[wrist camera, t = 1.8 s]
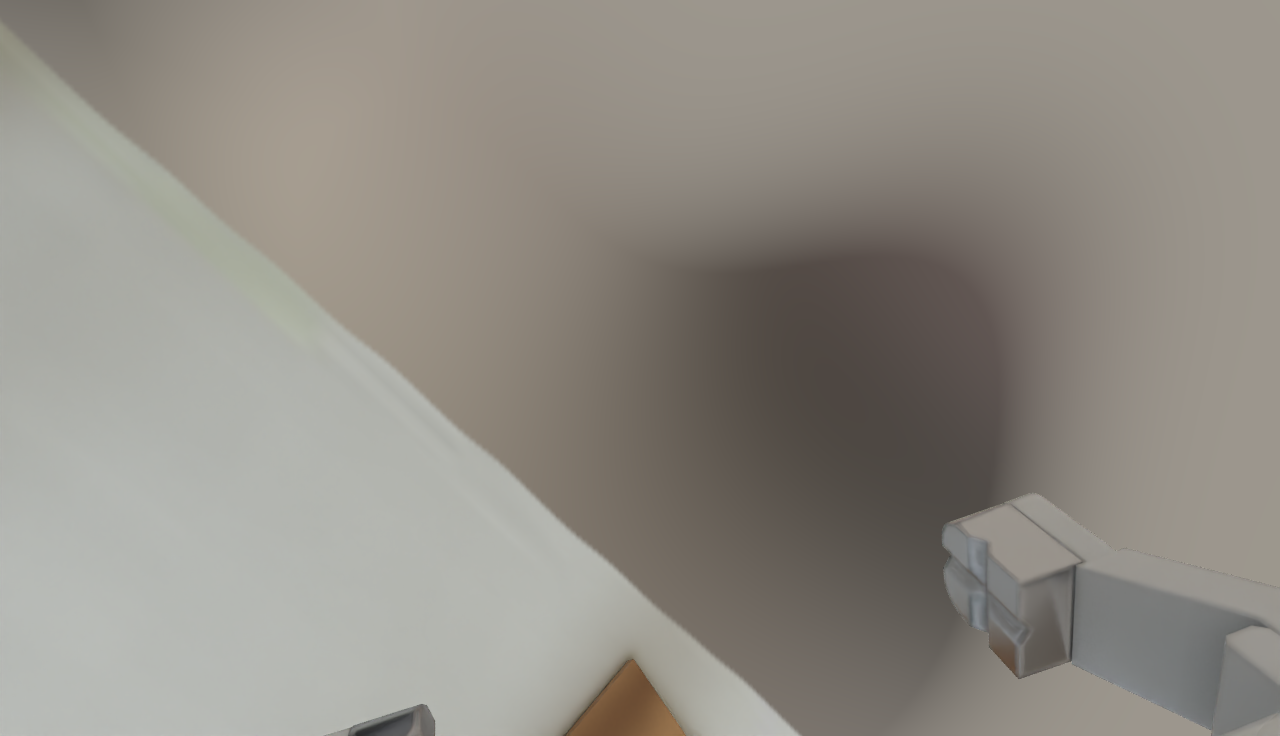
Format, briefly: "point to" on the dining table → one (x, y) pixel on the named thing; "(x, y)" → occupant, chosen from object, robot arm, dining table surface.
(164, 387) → the dining table surface
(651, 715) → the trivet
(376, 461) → the dining table surface
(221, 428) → the dining table surface
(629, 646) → the dining table surface
